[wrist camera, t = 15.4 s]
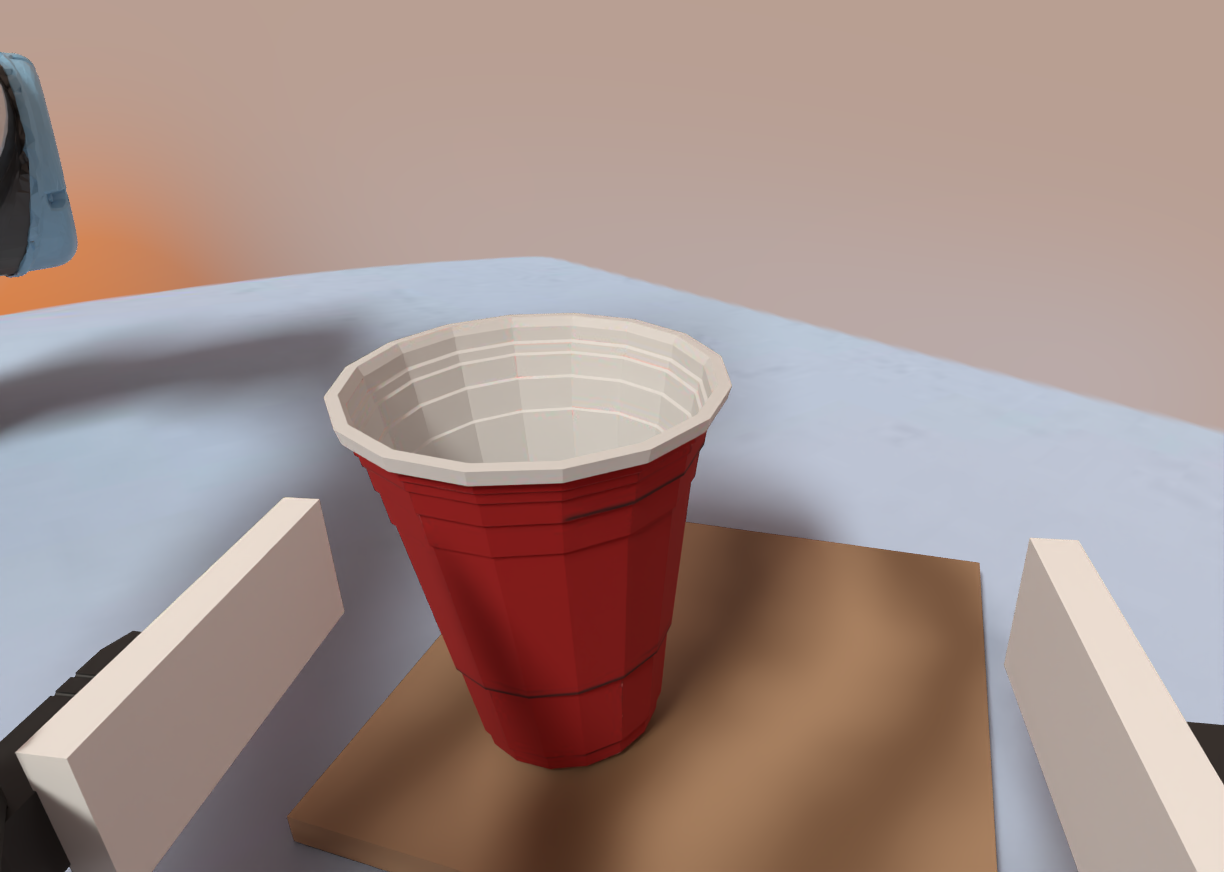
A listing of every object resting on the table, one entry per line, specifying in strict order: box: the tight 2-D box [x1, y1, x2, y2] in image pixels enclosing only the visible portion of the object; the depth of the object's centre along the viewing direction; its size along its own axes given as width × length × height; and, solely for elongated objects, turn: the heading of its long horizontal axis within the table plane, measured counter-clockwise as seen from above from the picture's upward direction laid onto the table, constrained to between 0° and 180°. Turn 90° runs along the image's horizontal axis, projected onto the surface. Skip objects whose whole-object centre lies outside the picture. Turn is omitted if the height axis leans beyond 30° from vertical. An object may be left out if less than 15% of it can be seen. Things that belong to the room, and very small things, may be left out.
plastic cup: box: [324, 313, 732, 769], centre depth 25 cm, size 11×11×12 cm
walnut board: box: [287, 522, 997, 872], centre depth 29 cm, size 19×19×1 cm
